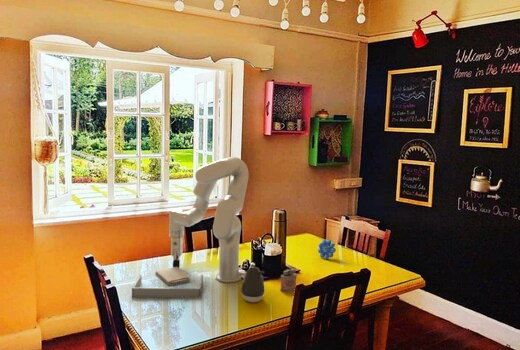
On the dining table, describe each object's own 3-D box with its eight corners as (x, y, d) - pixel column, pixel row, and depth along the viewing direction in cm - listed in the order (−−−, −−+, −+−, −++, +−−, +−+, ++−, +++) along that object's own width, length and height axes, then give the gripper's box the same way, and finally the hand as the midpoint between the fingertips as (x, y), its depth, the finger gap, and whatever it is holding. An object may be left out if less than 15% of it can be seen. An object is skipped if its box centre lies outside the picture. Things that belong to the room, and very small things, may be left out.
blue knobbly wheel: (338, 260, 249) (340, 239, 247) (332, 262, 244) (333, 242, 242) (321, 255, 257) (323, 235, 255) (315, 257, 252) (316, 237, 250)
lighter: (282, 293, 201) (283, 272, 199) (278, 290, 204) (279, 269, 202) (297, 290, 204) (298, 269, 203) (293, 287, 207) (294, 267, 206)
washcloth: (169, 287, 203) (169, 281, 203) (154, 275, 218) (154, 269, 217) (192, 282, 210) (192, 276, 210) (176, 270, 225) (176, 264, 224)
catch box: (202, 283, 208) (202, 275, 208) (200, 297, 193) (200, 288, 192) (139, 282, 206) (139, 274, 206) (131, 296, 191) (131, 288, 190)
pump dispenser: (256, 307, 185) (257, 273, 183) (236, 300, 190) (237, 267, 188) (268, 299, 194) (270, 266, 191) (249, 293, 199) (250, 261, 197)
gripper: (182, 237, 215) (181, 273, 218) (185, 229, 230) (185, 262, 233) (166, 237, 215) (166, 272, 218) (171, 229, 230) (171, 262, 232)
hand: (176, 267), depth 225 cm, fingers closed
